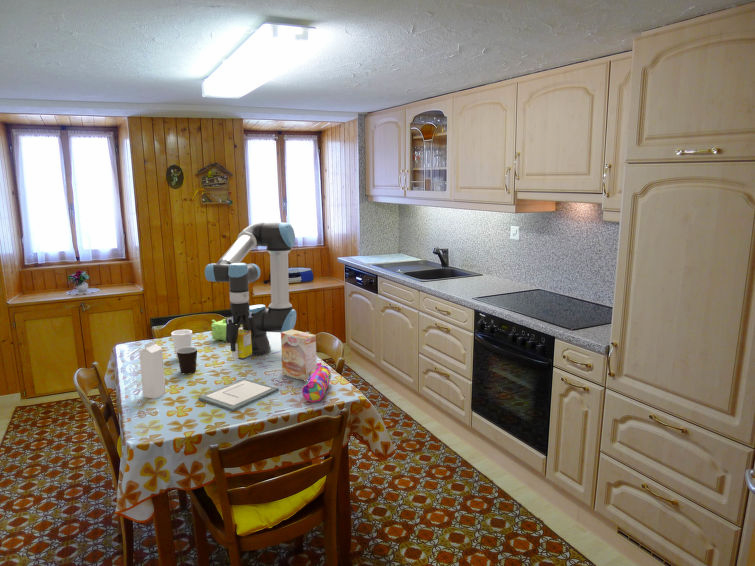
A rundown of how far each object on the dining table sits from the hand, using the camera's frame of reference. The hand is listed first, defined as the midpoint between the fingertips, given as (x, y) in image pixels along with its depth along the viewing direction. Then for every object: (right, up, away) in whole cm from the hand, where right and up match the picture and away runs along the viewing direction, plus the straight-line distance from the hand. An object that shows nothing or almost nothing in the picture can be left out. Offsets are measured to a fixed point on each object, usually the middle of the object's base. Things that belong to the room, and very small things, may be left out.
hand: (242, 355), depth 216 cm
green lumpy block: (-27, -1, +69) cm, 74 cm away
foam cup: (-38, -7, +38) cm, 55 cm away
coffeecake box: (+21, -11, +15) cm, 28 cm away
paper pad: (0, -15, -6) cm, 16 cm away
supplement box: (0, -1, 0) cm, 1 cm away
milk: (-33, -15, -6) cm, 37 cm away
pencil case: (+31, -15, -3) cm, 35 cm away
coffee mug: (-29, -10, +22) cm, 38 cm away
